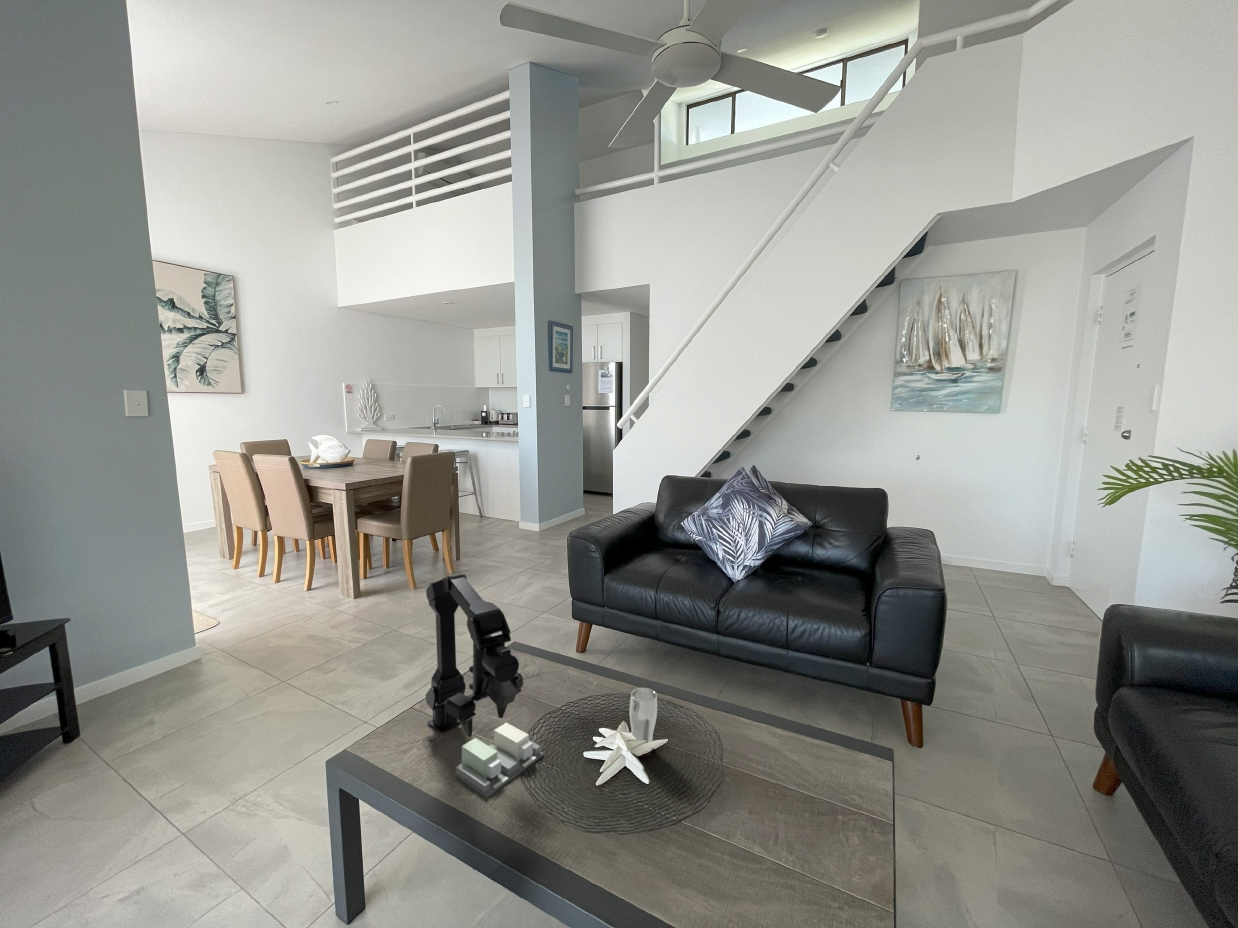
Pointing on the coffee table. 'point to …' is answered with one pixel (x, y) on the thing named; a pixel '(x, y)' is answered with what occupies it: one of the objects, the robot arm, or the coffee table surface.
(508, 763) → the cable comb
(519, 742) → the cream plug
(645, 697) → the beer glass
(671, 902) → the coffee table surface
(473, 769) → the sage plug
